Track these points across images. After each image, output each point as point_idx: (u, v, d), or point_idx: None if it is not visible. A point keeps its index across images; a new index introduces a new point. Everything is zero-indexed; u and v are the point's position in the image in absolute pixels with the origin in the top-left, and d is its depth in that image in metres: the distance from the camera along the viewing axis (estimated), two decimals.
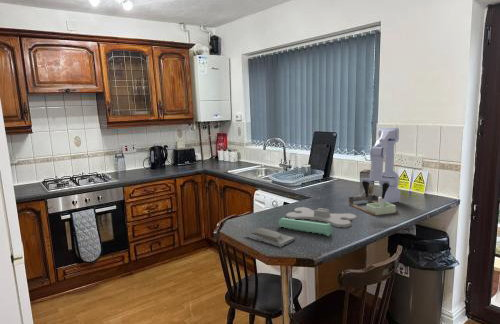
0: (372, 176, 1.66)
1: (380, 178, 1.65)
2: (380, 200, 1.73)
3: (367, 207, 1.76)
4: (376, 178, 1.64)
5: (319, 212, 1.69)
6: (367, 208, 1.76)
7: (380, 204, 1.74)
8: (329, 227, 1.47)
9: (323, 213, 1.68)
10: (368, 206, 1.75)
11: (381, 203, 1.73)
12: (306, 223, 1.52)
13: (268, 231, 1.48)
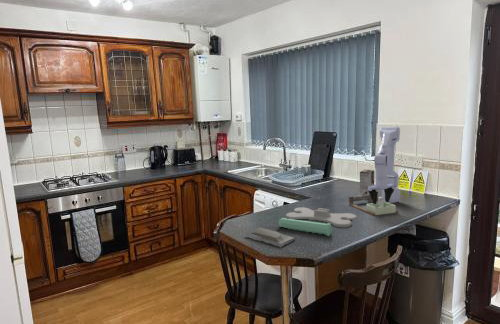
0: (382, 184, 1.70)
1: (386, 184, 1.72)
2: (380, 200, 1.73)
3: (367, 207, 1.76)
4: (386, 185, 1.71)
5: (319, 212, 1.69)
6: (367, 208, 1.76)
7: (380, 204, 1.74)
8: (329, 227, 1.48)
9: (323, 213, 1.68)
10: (368, 206, 1.75)
11: (381, 203, 1.73)
12: (306, 223, 1.52)
13: (268, 231, 1.48)
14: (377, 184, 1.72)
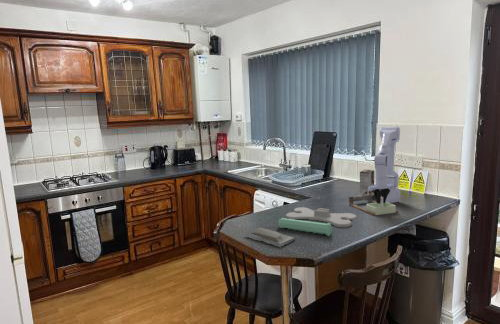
0: (382, 184, 1.70)
1: (386, 184, 1.72)
2: None
3: (367, 207, 1.76)
4: (386, 185, 1.71)
5: (319, 212, 1.69)
6: (367, 208, 1.76)
7: (380, 204, 1.74)
8: (329, 227, 1.48)
9: (323, 213, 1.68)
10: (368, 206, 1.75)
11: (381, 203, 1.73)
12: (306, 223, 1.52)
13: (268, 231, 1.48)
14: (377, 184, 1.72)
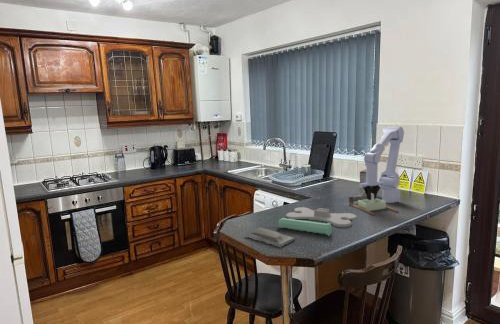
0: (372, 181, 1.78)
1: (377, 181, 1.80)
2: (371, 197, 1.81)
3: (358, 203, 1.83)
4: (376, 182, 1.78)
5: (319, 212, 1.69)
6: (358, 204, 1.83)
7: (371, 200, 1.81)
8: (329, 227, 1.48)
9: (323, 213, 1.68)
10: (359, 202, 1.83)
11: (372, 199, 1.81)
12: (306, 223, 1.52)
13: (268, 231, 1.48)
14: (368, 181, 1.79)
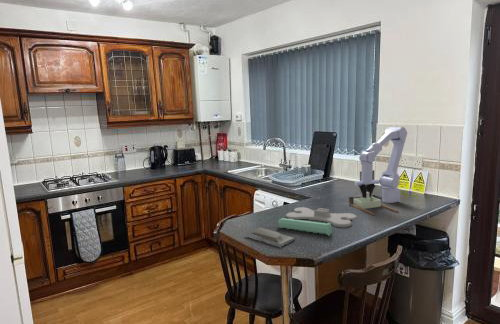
0: (367, 179, 1.82)
1: (372, 180, 1.84)
2: (366, 195, 1.85)
3: (354, 201, 1.87)
4: (371, 181, 1.82)
5: (319, 212, 1.69)
6: (354, 202, 1.87)
7: (366, 199, 1.85)
8: (329, 227, 1.48)
9: (323, 213, 1.68)
10: (355, 200, 1.86)
11: (367, 198, 1.85)
12: (306, 223, 1.52)
13: (268, 231, 1.48)
14: (363, 180, 1.83)
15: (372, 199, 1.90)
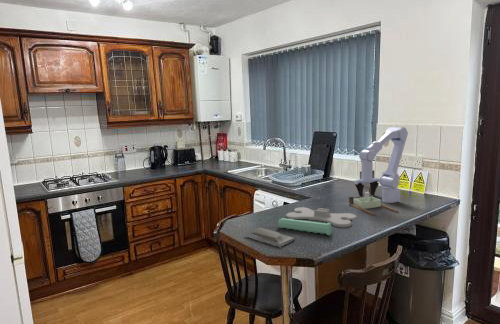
0: (367, 178, 1.82)
1: (372, 178, 1.84)
2: (366, 195, 1.85)
3: (354, 201, 1.87)
4: (371, 179, 1.82)
5: (319, 212, 1.69)
6: (354, 202, 1.87)
7: (366, 199, 1.85)
8: (329, 227, 1.48)
9: (323, 213, 1.68)
10: (355, 200, 1.86)
11: (367, 198, 1.85)
12: (306, 223, 1.52)
13: (268, 231, 1.48)
14: (363, 178, 1.83)
15: (372, 199, 1.90)
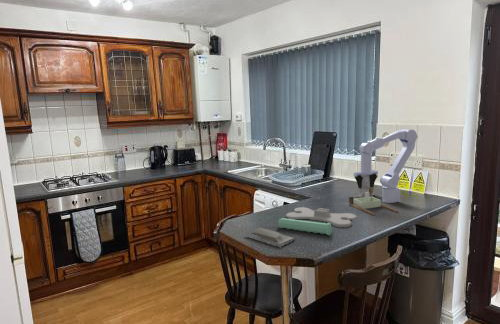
0: (366, 170, 1.87)
1: None
2: (366, 195, 1.85)
3: (354, 201, 1.87)
4: (370, 171, 1.88)
5: (319, 212, 1.69)
6: (354, 202, 1.87)
7: (366, 199, 1.85)
8: (329, 227, 1.48)
9: (323, 213, 1.68)
10: (355, 200, 1.86)
11: (367, 198, 1.85)
12: (306, 223, 1.52)
13: (268, 231, 1.48)
14: (362, 170, 1.89)
15: (372, 199, 1.90)
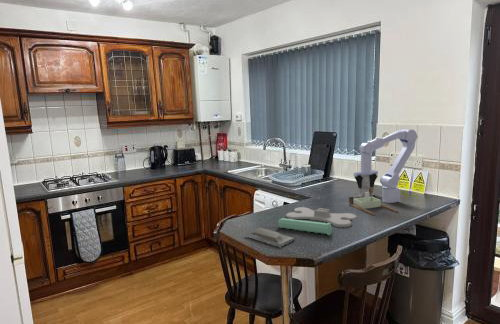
0: (366, 170, 1.87)
1: None
2: (366, 195, 1.85)
3: (354, 201, 1.87)
4: (370, 171, 1.88)
5: (319, 212, 1.69)
6: (354, 202, 1.87)
7: (366, 199, 1.85)
8: (330, 226, 1.48)
9: (323, 213, 1.68)
10: (355, 200, 1.86)
11: (367, 198, 1.85)
12: (306, 223, 1.52)
13: (268, 231, 1.48)
14: (362, 170, 1.89)
15: (372, 199, 1.90)
